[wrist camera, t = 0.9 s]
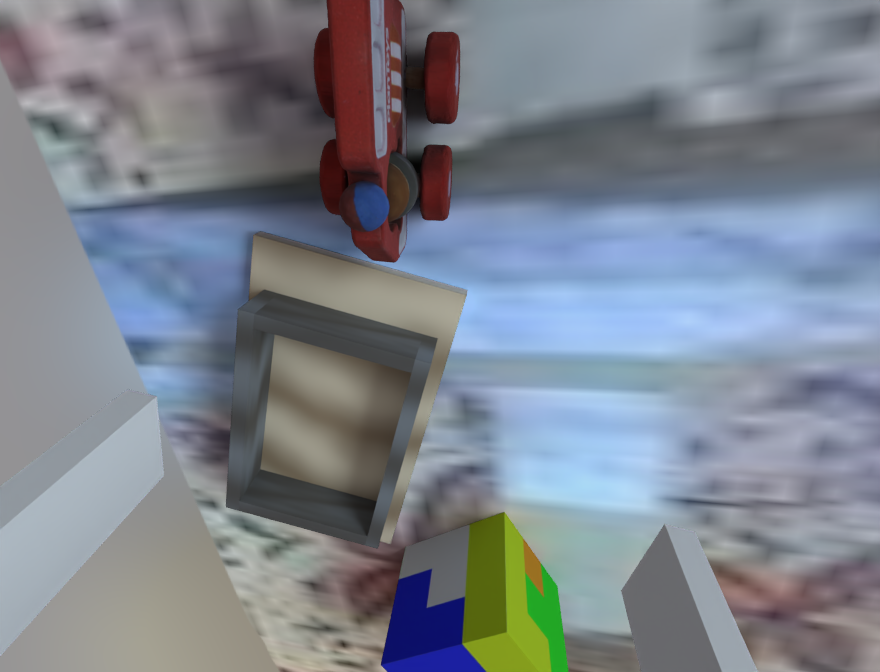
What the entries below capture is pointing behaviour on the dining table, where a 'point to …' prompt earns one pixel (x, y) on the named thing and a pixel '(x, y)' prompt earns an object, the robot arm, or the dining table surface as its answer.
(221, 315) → the dining table surface
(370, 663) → the dining table surface
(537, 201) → the dining table surface
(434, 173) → the toy fire truck
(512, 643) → the puzzle toy
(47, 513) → the robot arm
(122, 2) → the dining table surface
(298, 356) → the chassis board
